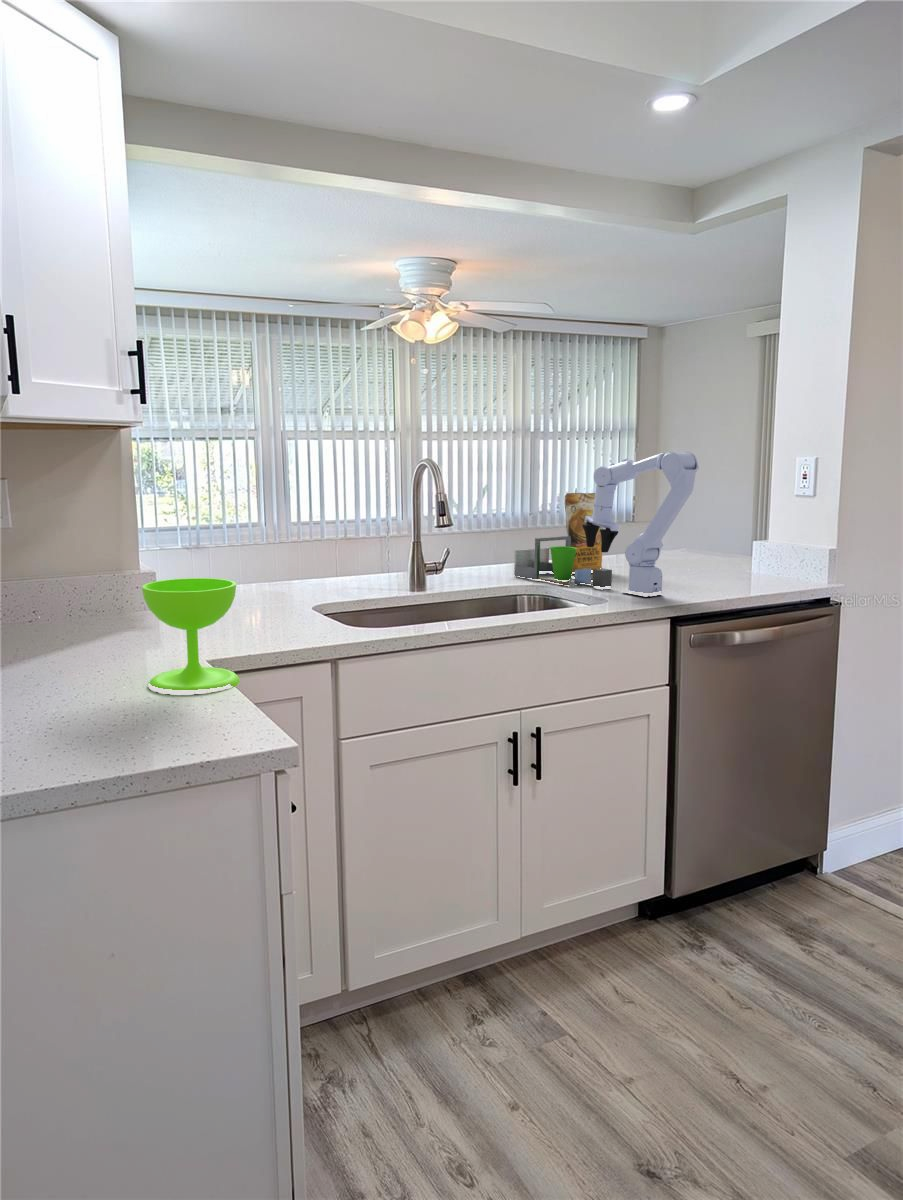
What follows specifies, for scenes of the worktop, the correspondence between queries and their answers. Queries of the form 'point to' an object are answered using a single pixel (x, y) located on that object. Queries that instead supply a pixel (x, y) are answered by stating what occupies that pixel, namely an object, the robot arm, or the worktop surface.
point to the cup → (563, 561)
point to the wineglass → (191, 625)
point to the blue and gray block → (594, 577)
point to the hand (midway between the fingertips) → (597, 549)
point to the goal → (535, 558)
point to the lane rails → (556, 580)
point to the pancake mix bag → (582, 530)
